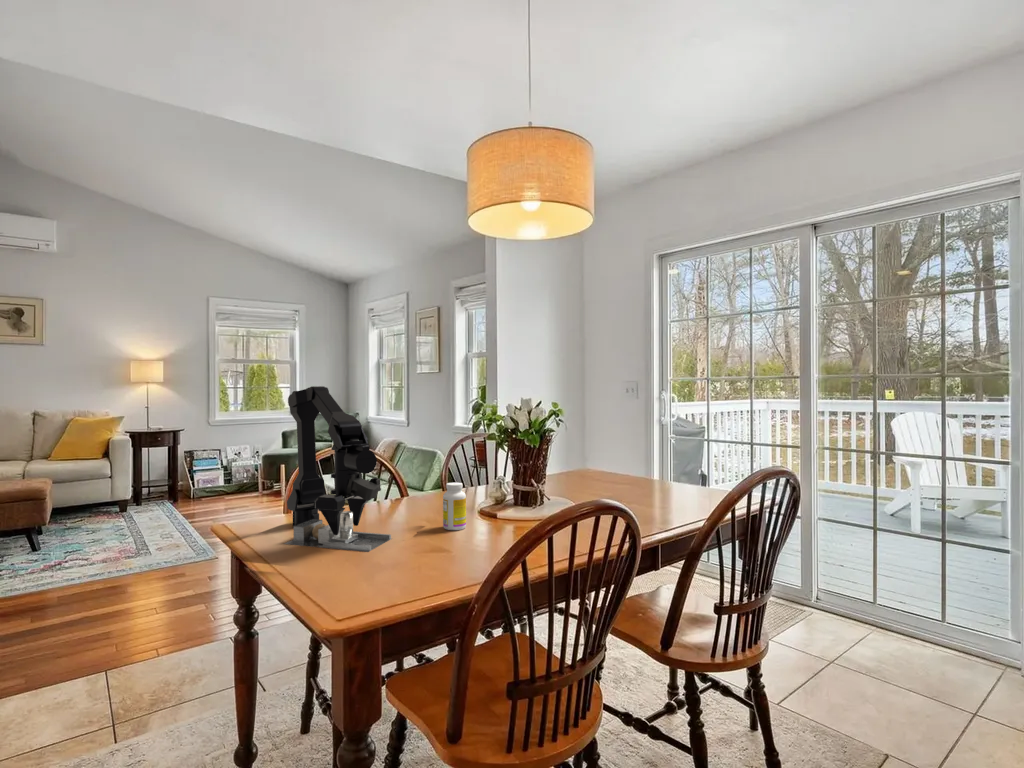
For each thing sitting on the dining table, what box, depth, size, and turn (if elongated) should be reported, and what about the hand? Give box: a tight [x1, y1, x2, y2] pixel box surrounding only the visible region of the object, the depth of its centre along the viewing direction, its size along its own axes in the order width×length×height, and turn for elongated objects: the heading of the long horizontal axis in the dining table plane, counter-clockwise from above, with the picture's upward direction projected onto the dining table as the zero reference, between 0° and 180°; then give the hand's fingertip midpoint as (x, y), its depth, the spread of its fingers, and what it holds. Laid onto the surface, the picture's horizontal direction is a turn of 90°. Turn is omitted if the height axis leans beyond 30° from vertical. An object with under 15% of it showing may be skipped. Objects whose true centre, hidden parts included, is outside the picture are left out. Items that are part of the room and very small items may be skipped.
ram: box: [318, 510, 358, 544], centre depth 147 cm, size 7×8×7 cm
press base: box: [283, 519, 392, 553], centre depth 147 cm, size 24×12×6 cm, turn 74°
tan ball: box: [312, 523, 327, 539], centre depth 149 cm, size 4×4×4 cm
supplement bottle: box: [442, 482, 467, 531], centre depth 166 cm, size 7×7×13 cm
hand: (346, 530), depth 147 cm, fingers open, 9 cm apart
